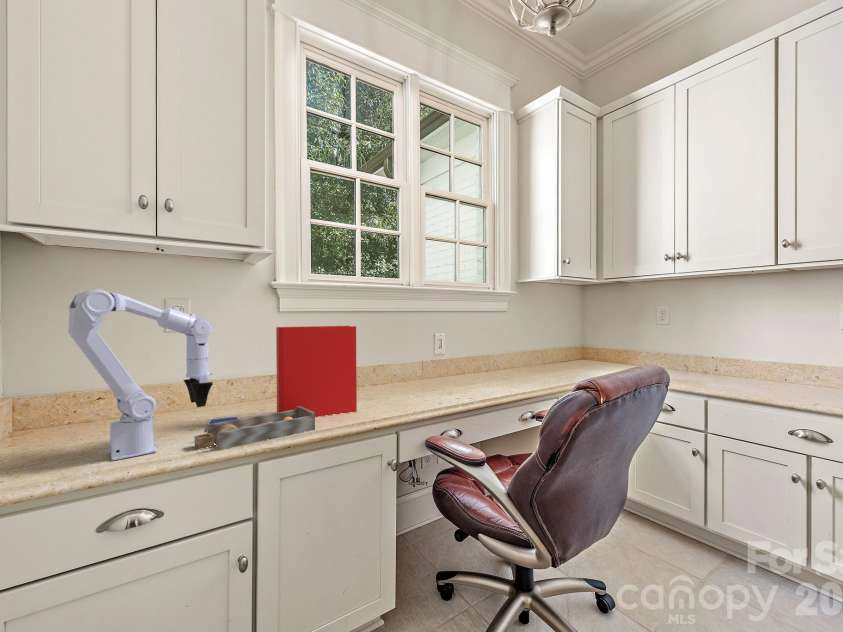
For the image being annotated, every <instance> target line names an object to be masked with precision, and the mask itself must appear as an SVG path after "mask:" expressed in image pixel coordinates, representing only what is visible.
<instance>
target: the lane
mask: <svg viewBox="0 0 843 632" xmlns="http://www.w3.org/2000/svg"><path fill="white" fill-rule="evenodd" d="M286 417H291V418H293V419H290V420H284V421H282V420H283V419H284V418H286ZM206 429H207V432H206V434H208V433H211V434H212V435H213V436H214V443H215V444H216V445H217V447H216V449H217V451H221V450H226V449H230V448H235V447H240V446H244V445H249V444H253V443H258V442H263V440H264V441H268V440H267V439H269V440H273V439H272V438H274V439H277V438H276V437H278V438H281V436H283V437H287V436H286V435H288V436H290V435H289V434H292V435H295V434H294V433H297V434H300V433H299V432H302V433H305V432H304V431H307V432H311V431H315V430H316V417H315V412H313V411H310V410H308V409H306V408H303V407H301V406H297V409H296V410H290V411H284V412H278V413H277V412H274V413H267V414H261V415H255V416H251V417H250V416H249V417H243V418H237V420H231V421H225V422H219V423H213V424H209V423H208V424H207V427H206ZM310 430H311V431H310Z"/></svg>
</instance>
